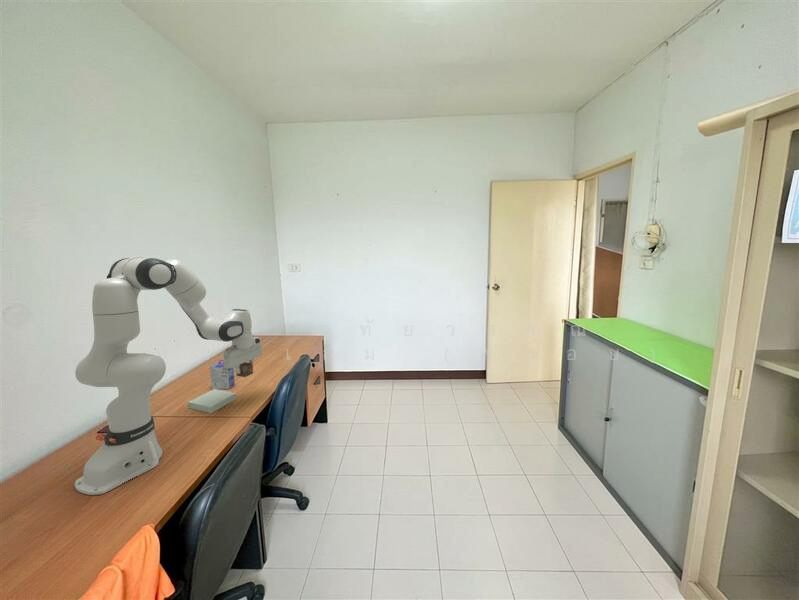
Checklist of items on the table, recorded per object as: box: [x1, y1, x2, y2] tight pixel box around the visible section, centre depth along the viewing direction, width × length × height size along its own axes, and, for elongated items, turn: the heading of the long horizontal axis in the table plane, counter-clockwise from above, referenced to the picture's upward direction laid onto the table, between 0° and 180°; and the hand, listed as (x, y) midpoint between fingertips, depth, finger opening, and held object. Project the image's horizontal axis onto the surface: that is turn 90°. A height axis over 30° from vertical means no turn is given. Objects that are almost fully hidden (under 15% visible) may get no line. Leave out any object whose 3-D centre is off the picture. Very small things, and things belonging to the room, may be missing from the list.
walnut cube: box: [235, 362, 254, 378], centre depth 149 cm, size 5×5×5 cm
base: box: [187, 389, 237, 414], centre depth 149 cm, size 14×14×3 cm
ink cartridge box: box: [209, 359, 236, 390], centre depth 165 cm, size 10×6×14 cm, turn 89°
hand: (244, 370), depth 150 cm, fingers closed on walnut cube, 5 cm apart
